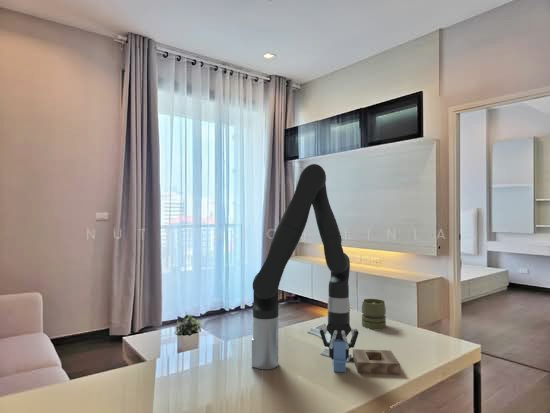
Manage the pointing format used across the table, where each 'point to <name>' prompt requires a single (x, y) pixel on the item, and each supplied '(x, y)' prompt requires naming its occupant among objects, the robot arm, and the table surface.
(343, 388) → the table surface
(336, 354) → the blue block
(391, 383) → the table surface
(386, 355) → the tan square ring
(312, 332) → the molding
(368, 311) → the piston
